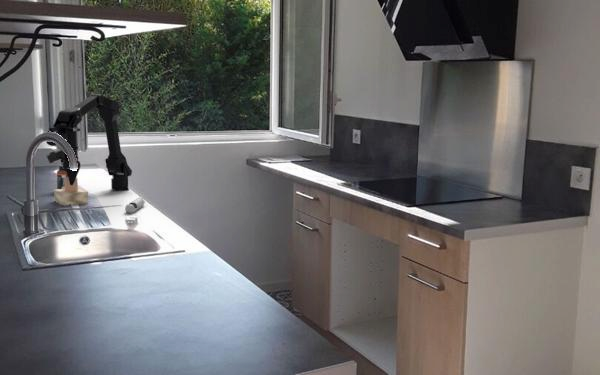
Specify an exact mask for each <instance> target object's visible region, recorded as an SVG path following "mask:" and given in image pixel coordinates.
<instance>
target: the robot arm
mask: <svg viewBox="0 0 600 375" xmlns="http://www.w3.org/2000/svg"><path fill="white" fill-rule="evenodd" d="M93 109H96V110H97V111H98V116H99V117H100V118H101V119H102V121H103V123H104V129H105V135H106V141H107V147H108V148H107V149H108V156H107V158H105V160H104V161H105V168H106V169H107V173H108V176H112V178H110V187H111V189H112V190H113V191H129V190H130V189H129V177H131V176H132V175H133V170H132V169H131V167H130V166H129V164H128V161H127V158H126V156H125V155H124V154H123V153H122V149H121V142H120V135H119V130H118V129H119V127H118V123H117V119H118V117H119V116H120V106H119V102H117V101H116V100H114V99H111V98H109V97H105V96H104V95H103V94H100V93H99V94H98V93H96V94H95V93H92V94H90V95H89V96H88V97H86V98H85V99H83V100H82V101H81V102H79V103H78V104H76V105H75V106H73V107H69V108H65V109H63V110H60V111H59V112H58V114H57V117H56V118H55V121H54V124H53V125H52V127H48V131H47V132H49V131H51V132H56V133H58V134H59V135H61V136H62V137H63V138H64V139H66V140H67V142H68V143H69V144H70V145H71V147H72V148H73V150H74V152H75V155H76V158H77V163H78V169H77V171H72V170H70V167H69V161H68V158H67V155H66V154H65V153H64V152H63V151H62V150H61V149H58V150H52V151H50V152H49V153H47V154H46V158H47V160H48V161H47V162H48V163H49V164H53V163H54V162H56V161H60V165H62V166H63V169H64V170H65V171H66V173H67V177H68V178H69V182H70V185H73V184H74V182H75V179H76V177H77V176H78V174H79V172H80V169H81V161H79V156H78V155H79V154H78V150H79V146H78V132H81V129H80V128H79V127H78V125H79V124H80V123H81V122H82V121H83V117H84V116H85V115H86V114H88V113H90V112H91V111H92V110H93ZM45 143H46V144H47V146H50V147H54V146H57V145H56V144H55V143H53V142H46V141H45ZM77 178H78V177H77Z"/></svg>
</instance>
